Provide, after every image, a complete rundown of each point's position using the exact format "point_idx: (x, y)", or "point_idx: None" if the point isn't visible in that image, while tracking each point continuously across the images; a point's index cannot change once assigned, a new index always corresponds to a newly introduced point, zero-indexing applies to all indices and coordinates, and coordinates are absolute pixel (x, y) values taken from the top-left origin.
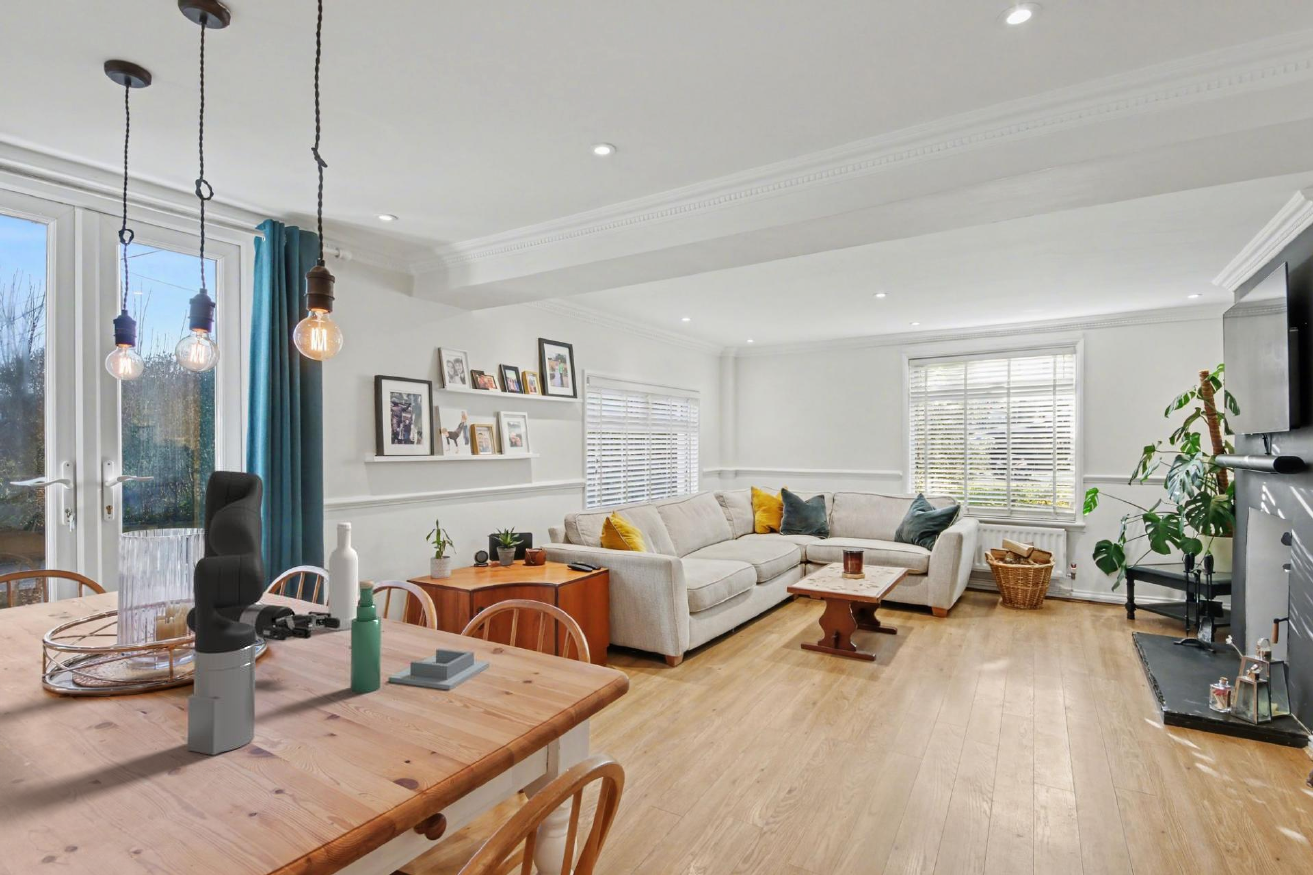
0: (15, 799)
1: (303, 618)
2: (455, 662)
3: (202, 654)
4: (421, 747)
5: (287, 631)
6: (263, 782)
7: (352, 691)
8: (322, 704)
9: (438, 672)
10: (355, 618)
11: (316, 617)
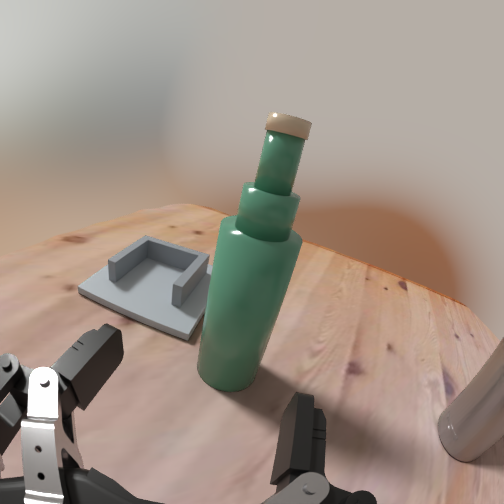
0: None
1: (67, 496)
2: (189, 249)
3: None
4: (365, 285)
5: (341, 490)
6: (460, 350)
7: (251, 382)
8: (321, 407)
9: (202, 271)
10: (256, 243)
11: (57, 420)
